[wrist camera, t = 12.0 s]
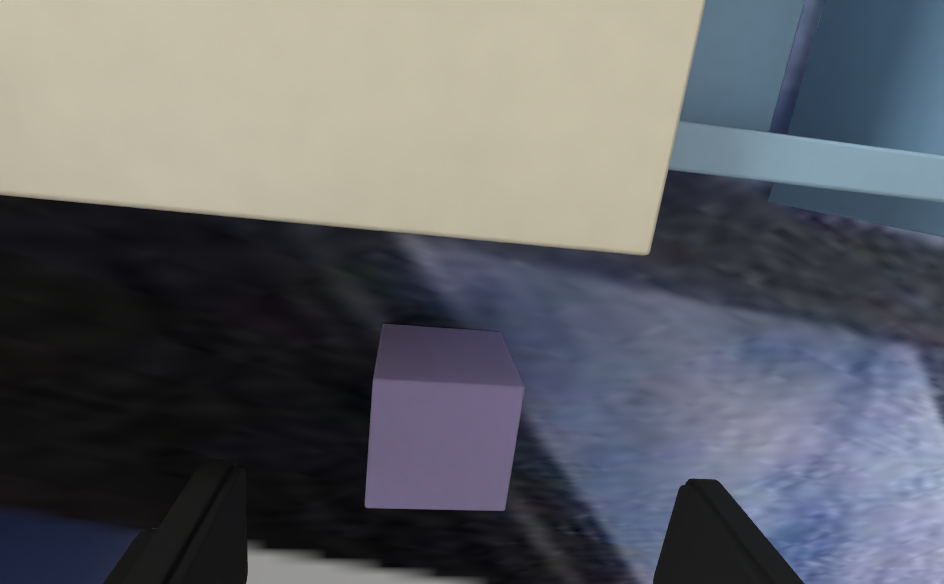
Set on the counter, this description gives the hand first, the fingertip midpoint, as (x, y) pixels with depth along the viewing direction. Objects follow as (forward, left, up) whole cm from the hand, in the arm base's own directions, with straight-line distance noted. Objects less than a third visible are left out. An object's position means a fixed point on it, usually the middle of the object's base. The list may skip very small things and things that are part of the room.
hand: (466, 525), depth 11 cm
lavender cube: (0, 0, -7) cm, 7 cm away
